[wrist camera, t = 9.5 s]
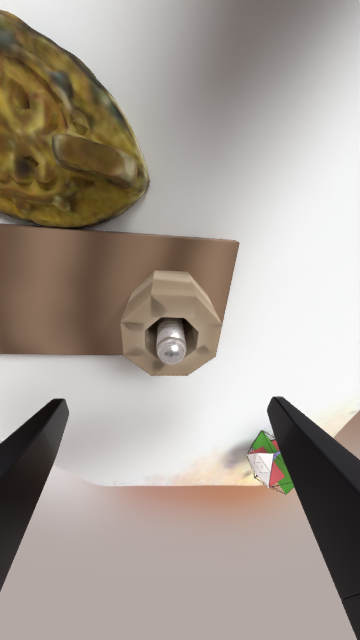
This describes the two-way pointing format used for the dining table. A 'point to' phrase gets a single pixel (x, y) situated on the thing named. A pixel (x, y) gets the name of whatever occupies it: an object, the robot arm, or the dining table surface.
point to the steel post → (170, 340)
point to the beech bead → (169, 301)
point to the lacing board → (92, 283)
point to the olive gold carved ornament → (61, 136)
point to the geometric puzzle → (269, 463)
